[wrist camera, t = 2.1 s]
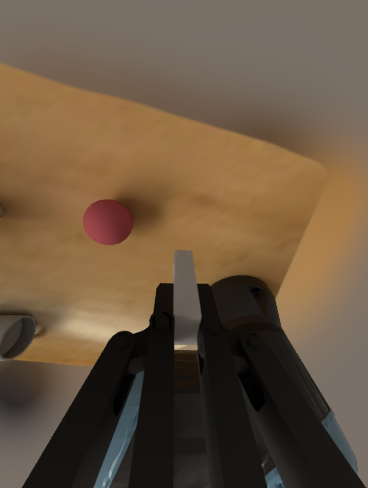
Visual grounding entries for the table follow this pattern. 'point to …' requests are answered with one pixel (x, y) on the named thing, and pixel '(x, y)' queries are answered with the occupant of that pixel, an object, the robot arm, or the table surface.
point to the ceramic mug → (15, 335)
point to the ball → (107, 222)
